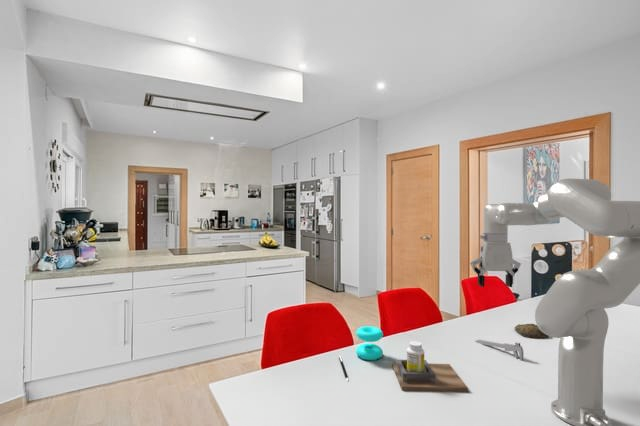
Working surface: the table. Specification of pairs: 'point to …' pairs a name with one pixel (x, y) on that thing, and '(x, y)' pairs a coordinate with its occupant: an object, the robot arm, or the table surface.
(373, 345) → the donuts
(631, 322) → the table surface
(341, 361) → the pen
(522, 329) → the bread roll
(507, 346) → the caliper
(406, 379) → the board
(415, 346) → the supplement bottle
